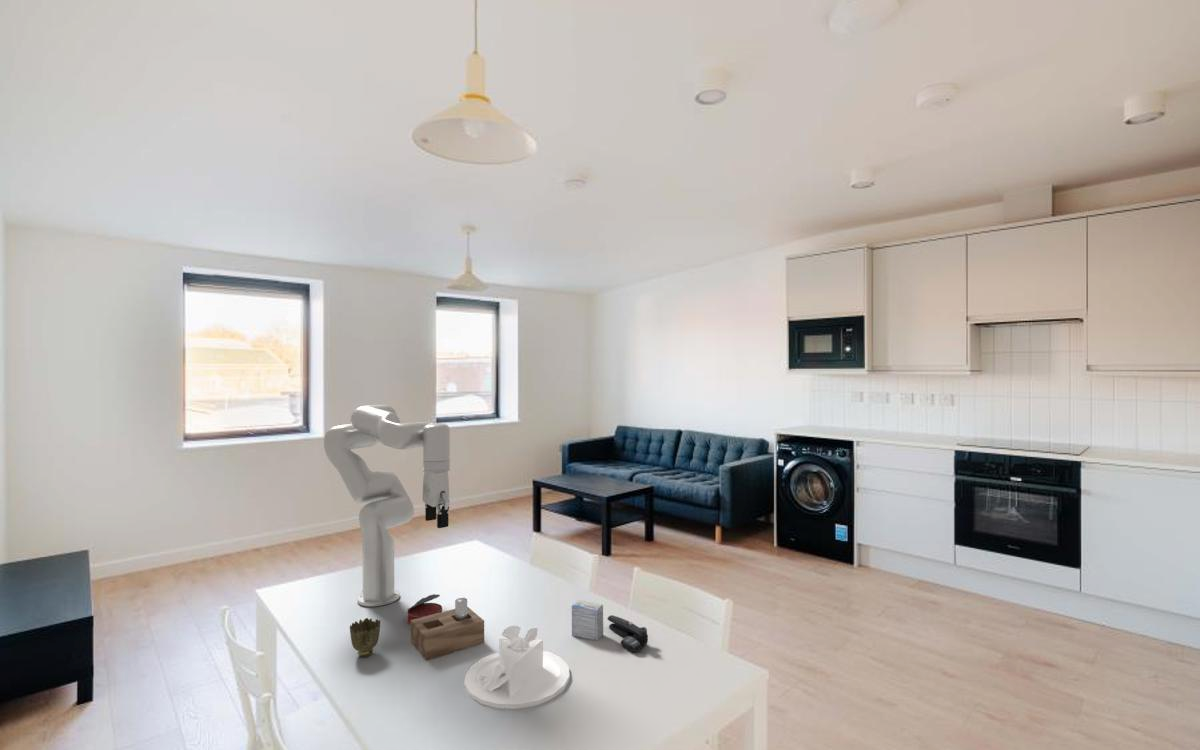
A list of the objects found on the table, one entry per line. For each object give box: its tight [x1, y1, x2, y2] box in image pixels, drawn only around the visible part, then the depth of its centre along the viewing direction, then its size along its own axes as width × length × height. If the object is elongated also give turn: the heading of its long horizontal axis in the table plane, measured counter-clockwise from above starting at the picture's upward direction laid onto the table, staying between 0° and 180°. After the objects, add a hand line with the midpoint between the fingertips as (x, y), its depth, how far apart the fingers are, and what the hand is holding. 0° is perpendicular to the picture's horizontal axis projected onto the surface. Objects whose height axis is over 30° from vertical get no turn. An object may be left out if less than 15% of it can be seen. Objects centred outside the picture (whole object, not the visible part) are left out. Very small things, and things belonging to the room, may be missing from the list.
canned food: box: [406, 593, 443, 626], centre depth 169 cm, size 11×10×10 cm
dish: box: [463, 625, 571, 710], centre depth 137 cm, size 25×25×11 cm
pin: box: [454, 597, 468, 621], centre depth 157 cm, size 3×3×9 cm
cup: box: [349, 617, 381, 658], centre depth 148 cm, size 8×7×8 cm
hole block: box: [410, 606, 485, 661], centre depth 155 cm, size 12×16×6 cm
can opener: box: [606, 615, 649, 653], centre depth 157 cm, size 18×7×6 cm, turn 28°
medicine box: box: [571, 599, 604, 642], centre depth 159 cm, size 8×4×9 cm, turn 65°
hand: (436, 523), depth 169 cm, fingers open, 9 cm apart
